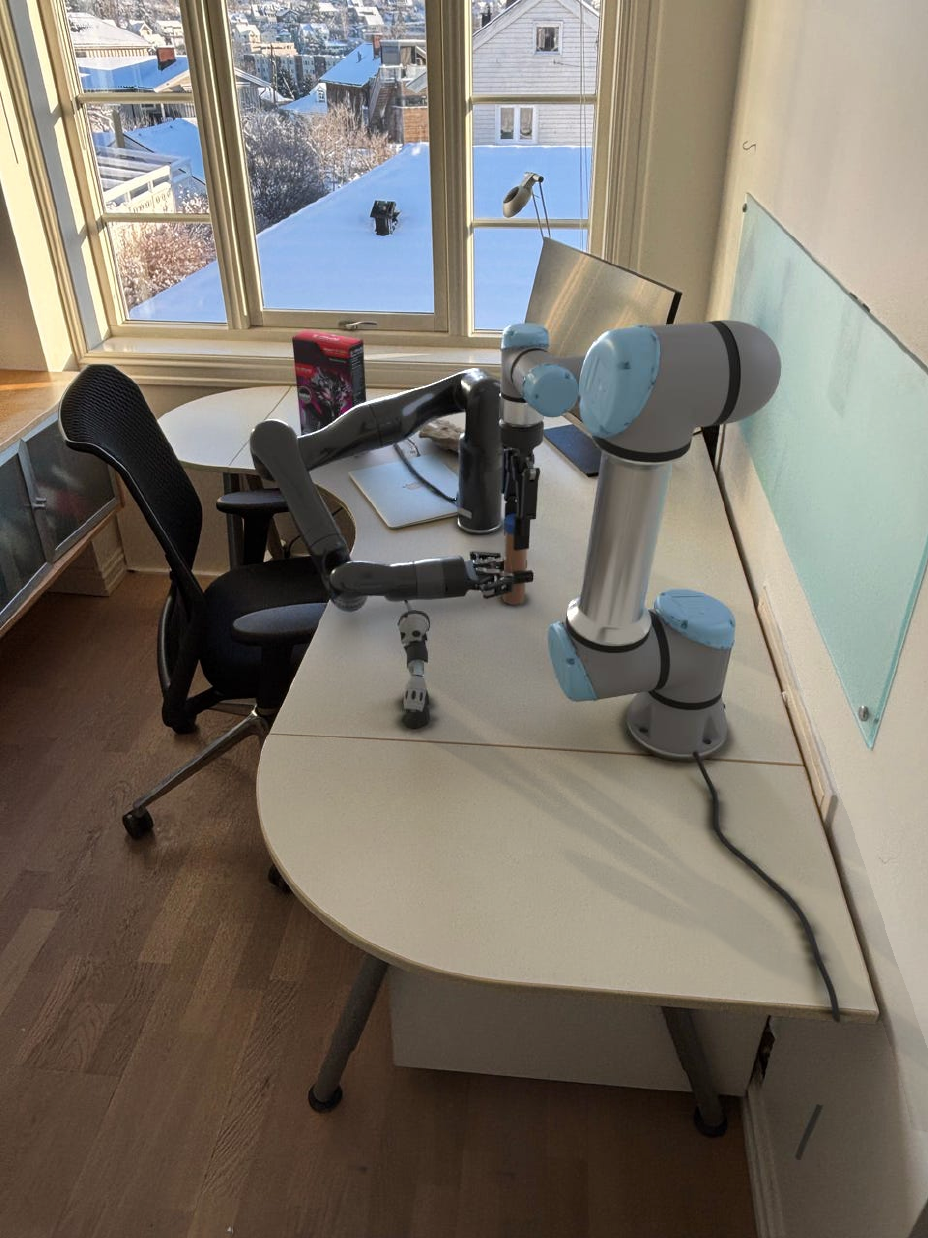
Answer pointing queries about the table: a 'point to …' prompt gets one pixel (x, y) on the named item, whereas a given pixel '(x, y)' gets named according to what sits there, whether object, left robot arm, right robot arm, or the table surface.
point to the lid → (509, 524)
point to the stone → (442, 434)
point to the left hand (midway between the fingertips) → (529, 569)
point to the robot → (415, 666)
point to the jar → (514, 570)
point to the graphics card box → (327, 377)
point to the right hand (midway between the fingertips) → (516, 541)
